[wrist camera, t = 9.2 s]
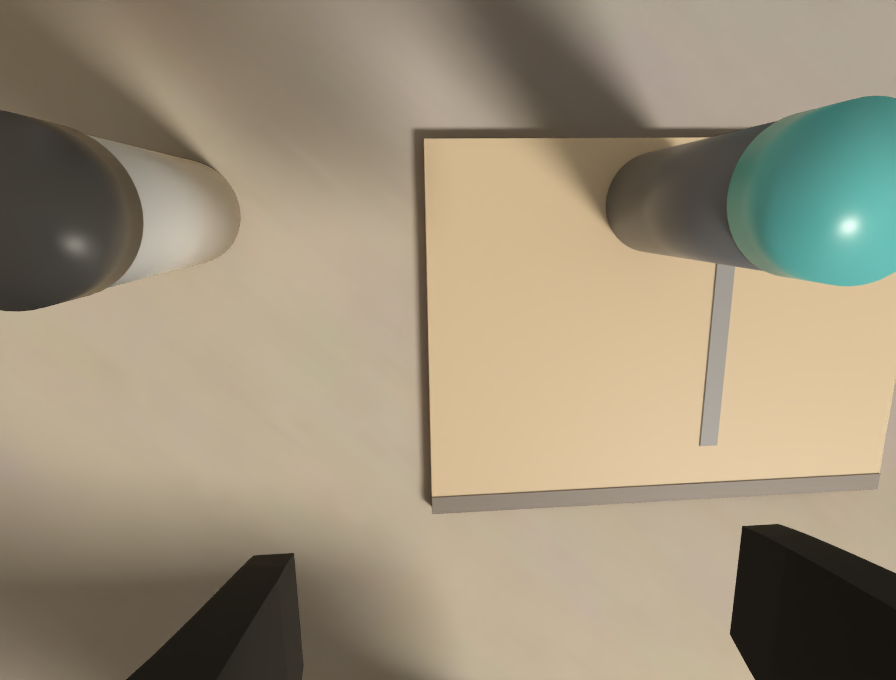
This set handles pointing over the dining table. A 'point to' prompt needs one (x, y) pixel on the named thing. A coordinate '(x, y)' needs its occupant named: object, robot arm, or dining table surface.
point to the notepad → (628, 348)
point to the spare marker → (99, 213)
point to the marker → (772, 196)
